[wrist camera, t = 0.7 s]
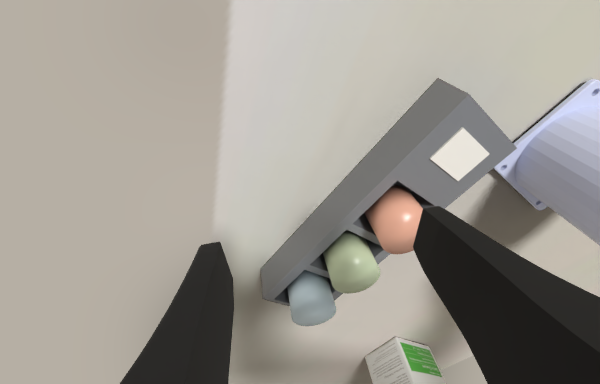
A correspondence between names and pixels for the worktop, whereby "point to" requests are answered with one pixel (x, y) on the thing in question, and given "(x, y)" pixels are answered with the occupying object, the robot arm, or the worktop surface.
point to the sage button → (351, 263)
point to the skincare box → (403, 364)
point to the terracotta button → (395, 220)
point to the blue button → (310, 299)
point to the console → (396, 180)
